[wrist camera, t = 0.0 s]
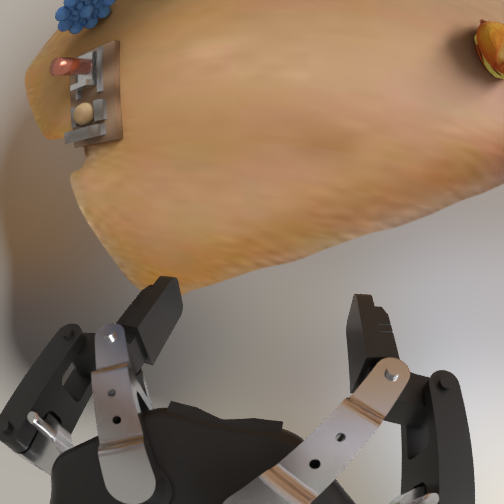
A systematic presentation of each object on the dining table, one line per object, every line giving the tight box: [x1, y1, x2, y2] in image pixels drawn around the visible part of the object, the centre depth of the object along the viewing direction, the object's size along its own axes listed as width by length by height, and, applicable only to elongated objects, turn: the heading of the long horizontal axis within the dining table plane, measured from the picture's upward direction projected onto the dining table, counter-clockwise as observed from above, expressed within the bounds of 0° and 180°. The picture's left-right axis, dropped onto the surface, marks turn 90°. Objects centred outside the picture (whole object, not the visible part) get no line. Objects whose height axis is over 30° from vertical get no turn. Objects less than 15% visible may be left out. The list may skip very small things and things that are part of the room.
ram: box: [50, 51, 97, 91], centre depth 28 cm, size 6×4×8 cm, turn 1°
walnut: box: [73, 103, 94, 125], centre depth 34 cm, size 4×4×4 cm
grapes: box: [55, 0, 116, 34], centre depth 22 cm, size 12×7×12 cm, turn 116°
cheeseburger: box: [474, 19, 504, 79], centre depth 16 cm, size 10×11×10 cm
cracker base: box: [64, 40, 123, 148], centre depth 33 cm, size 18×11×6 cm, turn 1°
